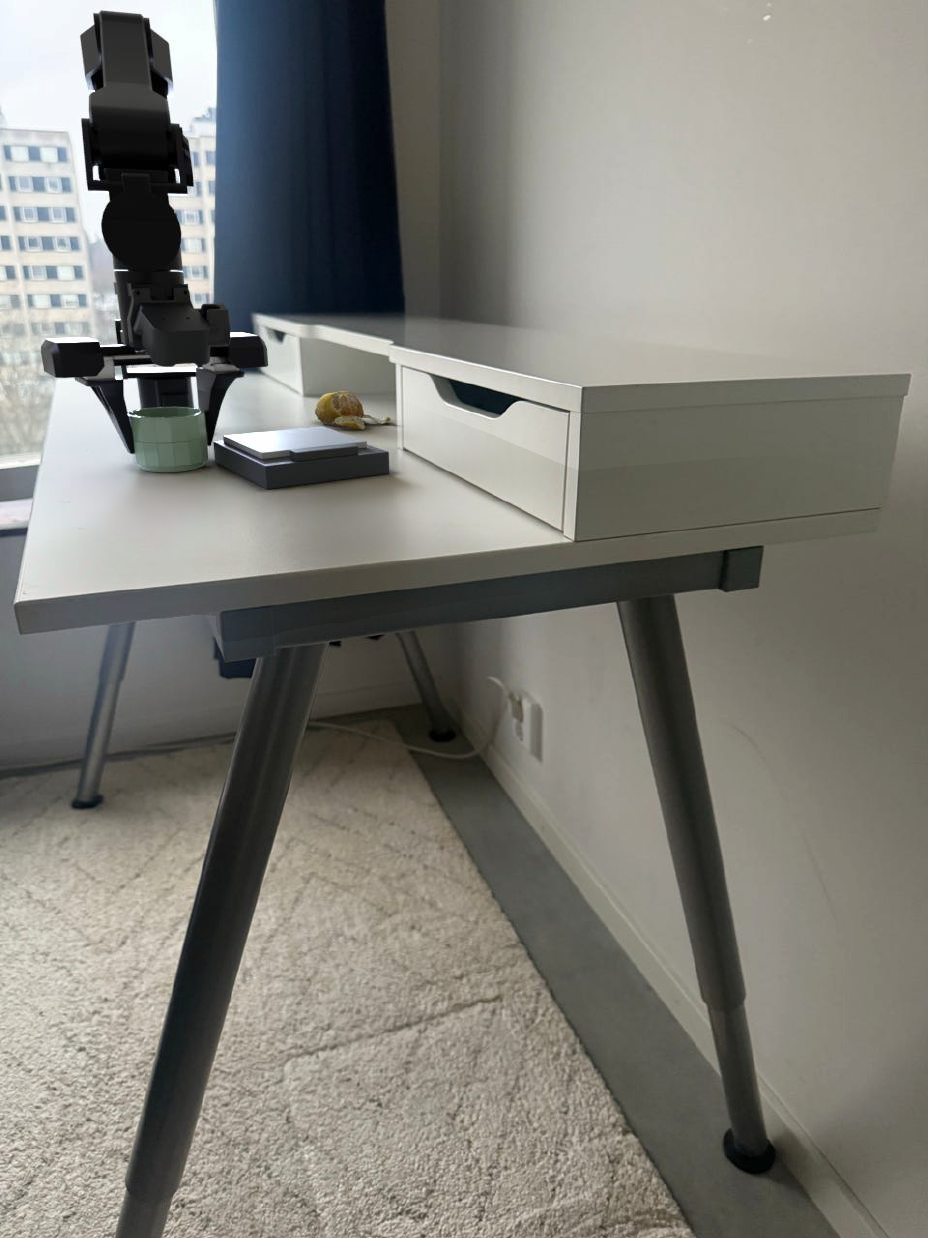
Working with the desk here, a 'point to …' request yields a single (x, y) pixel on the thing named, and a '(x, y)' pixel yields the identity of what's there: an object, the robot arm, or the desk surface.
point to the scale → (299, 456)
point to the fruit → (343, 410)
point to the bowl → (169, 438)
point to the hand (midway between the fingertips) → (170, 449)
